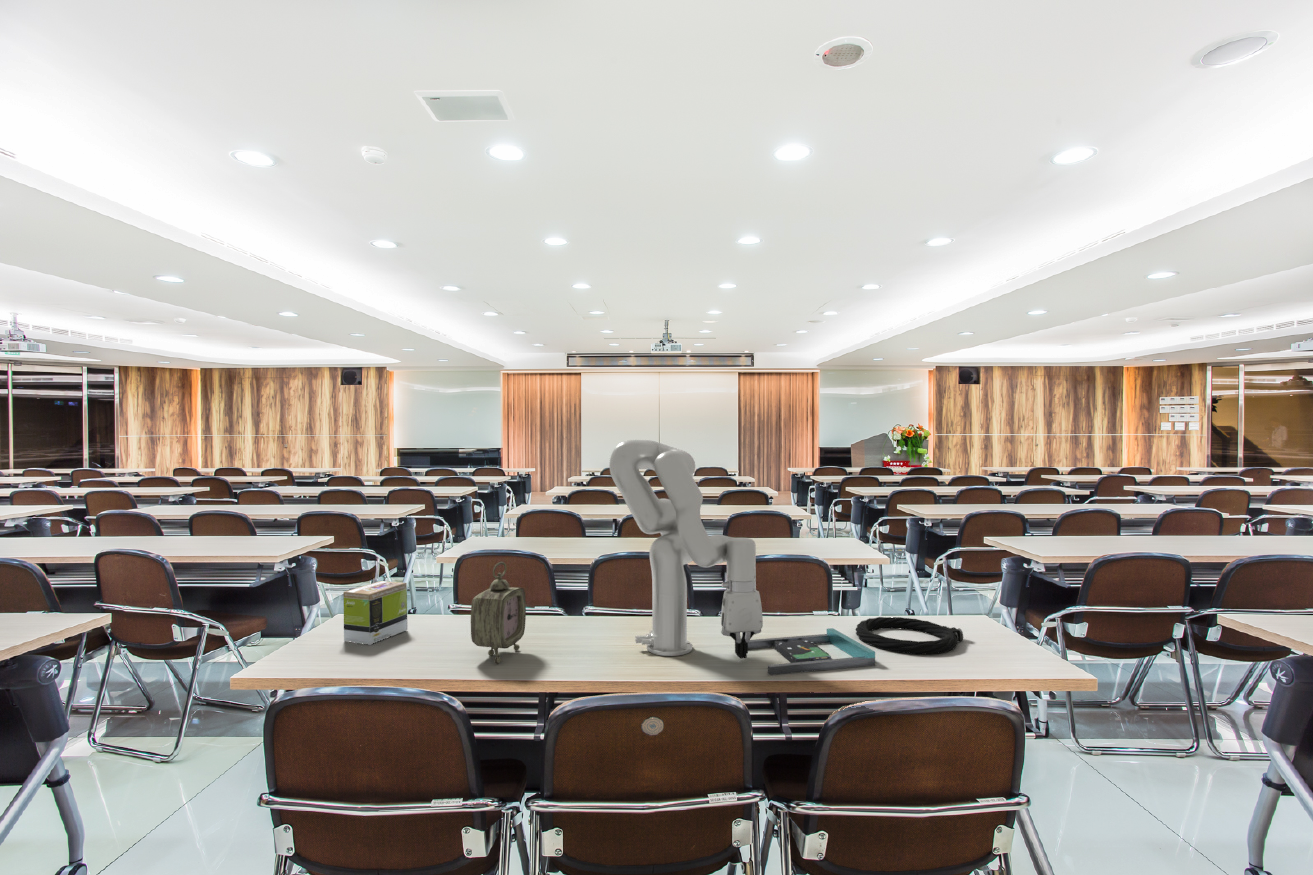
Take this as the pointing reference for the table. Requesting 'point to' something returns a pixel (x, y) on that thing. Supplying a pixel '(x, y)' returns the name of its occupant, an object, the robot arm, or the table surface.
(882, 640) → the cable lock
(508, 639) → the tabletop clock
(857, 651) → the guide track
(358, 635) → the tea box
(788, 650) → the disk drive
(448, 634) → the table surface
